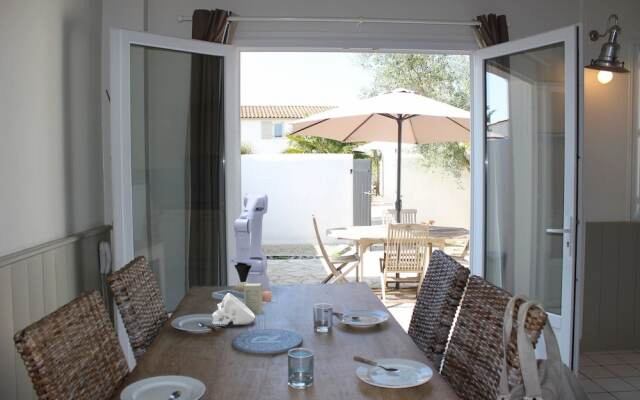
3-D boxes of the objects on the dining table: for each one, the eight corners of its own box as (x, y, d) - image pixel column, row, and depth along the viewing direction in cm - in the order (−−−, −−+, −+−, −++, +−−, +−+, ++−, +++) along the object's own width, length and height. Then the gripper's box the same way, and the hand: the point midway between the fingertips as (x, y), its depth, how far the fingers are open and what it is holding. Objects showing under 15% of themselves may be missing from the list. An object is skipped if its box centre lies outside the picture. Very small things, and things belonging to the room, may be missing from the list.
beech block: (240, 293, 259) (240, 284, 259) (247, 294, 257) (247, 285, 257) (234, 295, 256) (234, 286, 256) (242, 296, 254) (242, 286, 254)
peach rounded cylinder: (266, 299, 248) (266, 289, 248) (273, 301, 245) (273, 291, 245) (259, 301, 245) (259, 291, 245) (266, 302, 242) (266, 292, 242)
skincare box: (263, 315, 228) (262, 283, 227) (260, 318, 224) (260, 285, 223) (246, 314, 229) (246, 282, 228) (243, 317, 224) (243, 285, 224)
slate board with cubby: (240, 295, 263) (240, 287, 262) (277, 304, 246) (277, 295, 246) (212, 301, 252) (212, 292, 252) (249, 310, 235) (249, 301, 235)
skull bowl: (207, 317, 219) (225, 288, 220) (240, 336, 221) (258, 308, 221) (205, 324, 209) (224, 294, 209) (239, 344, 211) (258, 315, 211)
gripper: (223, 247, 245) (224, 280, 246) (247, 251, 235) (247, 285, 236) (237, 245, 250) (237, 278, 251) (260, 249, 241) (260, 283, 241)
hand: (243, 281), depth 244 cm, fingers closed
